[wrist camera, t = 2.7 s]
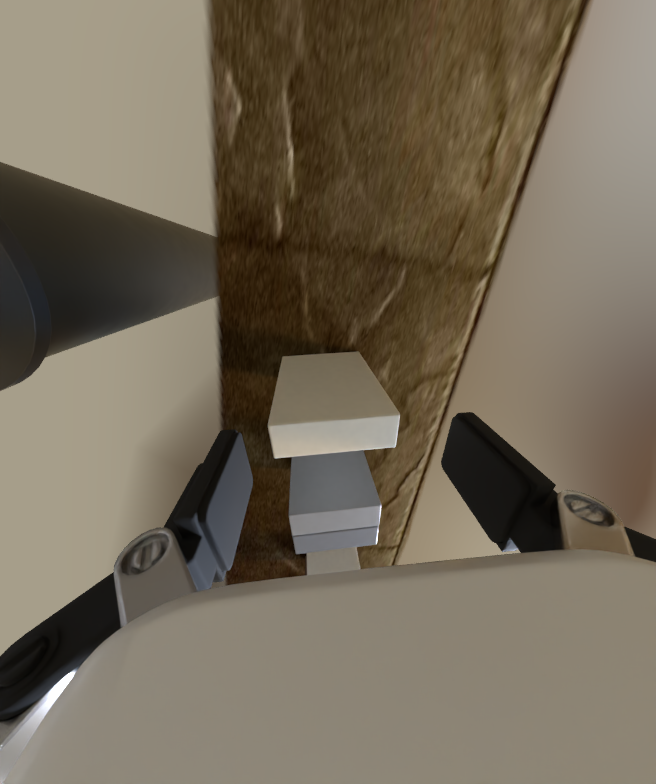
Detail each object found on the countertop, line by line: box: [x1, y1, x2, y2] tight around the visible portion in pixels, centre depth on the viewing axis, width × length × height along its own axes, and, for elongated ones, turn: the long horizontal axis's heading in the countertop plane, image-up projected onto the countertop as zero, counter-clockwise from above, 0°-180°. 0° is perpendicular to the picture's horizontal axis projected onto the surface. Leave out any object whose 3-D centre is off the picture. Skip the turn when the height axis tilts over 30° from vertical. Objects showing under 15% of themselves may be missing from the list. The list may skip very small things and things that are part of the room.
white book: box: [268, 352, 400, 458], centre depth 15 cm, size 6×2×9 cm, turn 92°
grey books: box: [289, 450, 381, 554], centre depth 20 cm, size 6×4×8 cm
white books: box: [305, 547, 360, 576], centre depth 27 cm, size 7×5×10 cm
